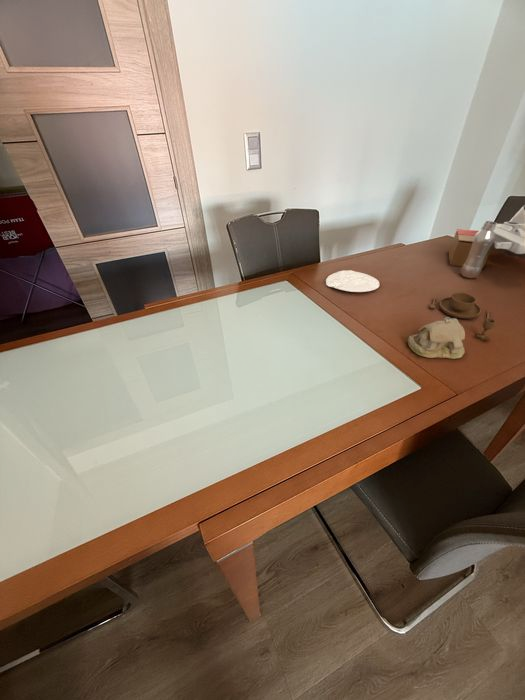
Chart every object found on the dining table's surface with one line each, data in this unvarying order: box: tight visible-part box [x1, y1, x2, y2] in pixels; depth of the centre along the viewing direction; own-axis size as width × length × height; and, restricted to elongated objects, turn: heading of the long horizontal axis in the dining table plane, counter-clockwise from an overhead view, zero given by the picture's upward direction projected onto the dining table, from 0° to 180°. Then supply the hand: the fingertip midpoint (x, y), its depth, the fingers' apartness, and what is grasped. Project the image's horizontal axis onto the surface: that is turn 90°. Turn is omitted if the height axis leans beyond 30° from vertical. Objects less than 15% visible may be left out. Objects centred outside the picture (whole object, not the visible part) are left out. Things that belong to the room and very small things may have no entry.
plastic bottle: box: [460, 220, 498, 279], centre depth 111 cm, size 6×7×20 cm
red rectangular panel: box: [456, 228, 480, 236], centre depth 124 cm, size 7×12×1 cm, turn 67°
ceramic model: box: [407, 316, 466, 359], centre depth 82 cm, size 14×11×10 cm
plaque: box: [325, 269, 380, 293], centre depth 116 cm, size 20×20×2 cm
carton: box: [448, 230, 494, 269], centre depth 125 cm, size 14×12×10 cm
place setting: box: [429, 292, 497, 341], centre depth 94 cm, size 18×20×6 cm
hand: (485, 240), depth 108 cm, fingers open, 8 cm apart
